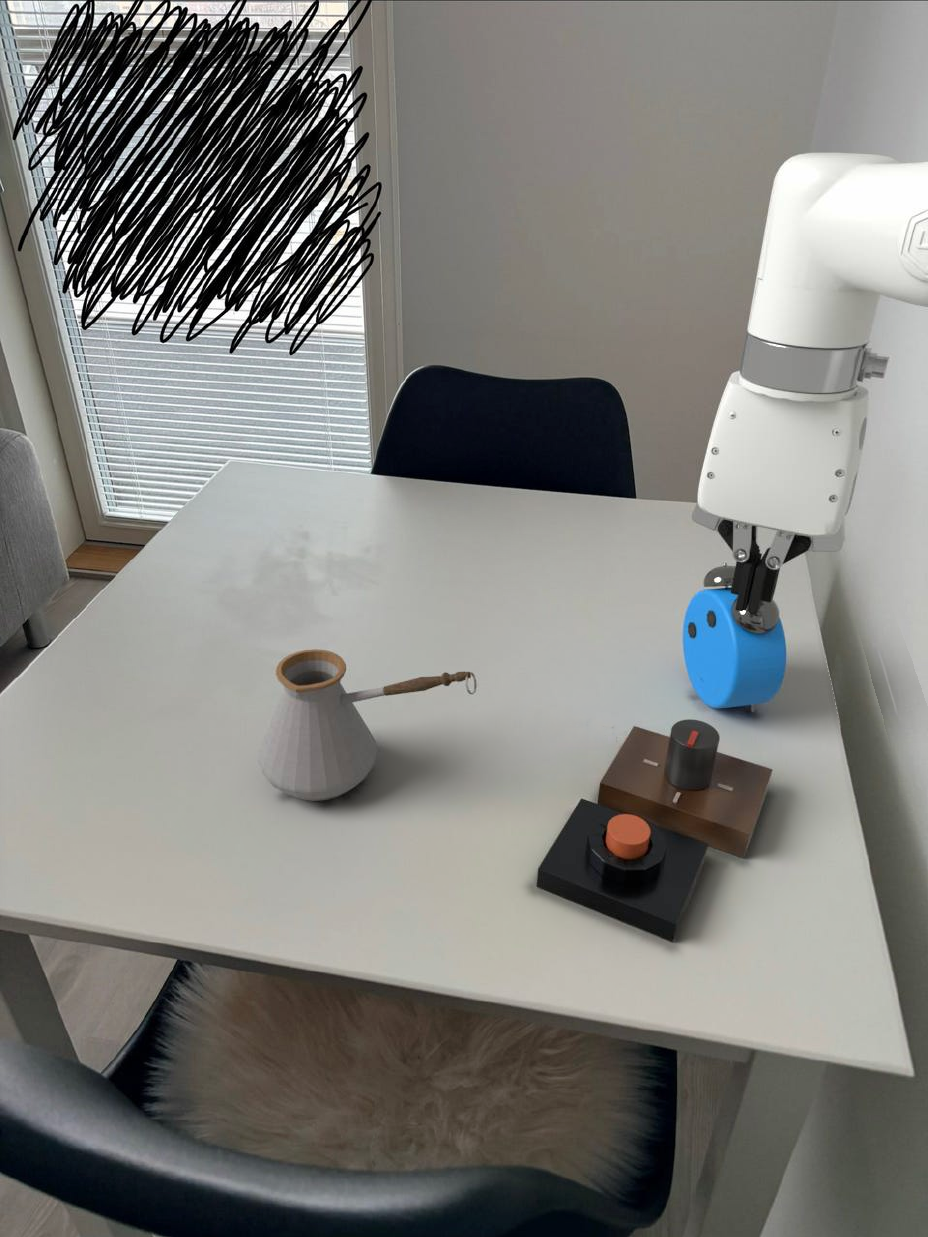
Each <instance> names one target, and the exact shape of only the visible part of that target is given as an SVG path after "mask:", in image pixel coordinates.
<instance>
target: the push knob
mask: <svg viewBox="0 0 928 1237" xmlns="http://www.w3.org/2000/svg"><path fill="white" fill-rule="evenodd" d="M650 833H651V831H650V828H649V826H648V824H647V823H646V822H645V821H644V820H643V819H641V818H639V817H637V816H634V815H630V814H621V815H617V816H615V817H613V818H612V819H611V820H610V821H609V823H608V826H607V834H606V846H607V848H608V849H609V850H610V852H612V853H613V854H614V855H616V856H619V857H622V858H624V859H637V858H640V857H642V856H643V855H645V853H646V852H647V850H648V845H649V839H650Z"/></svg>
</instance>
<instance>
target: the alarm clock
mask: <svg viewBox="0 0 928 1237" xmlns="http://www.w3.org/2000/svg"><path fill="white" fill-rule="evenodd" d="M735 567H736V565H728V563H726V562H723V565H720V566H716V567H715V568H712V569H710V570H709V571H708V572H707V573H706V574H705V576H704V578H703V581H702V582H703V583H702V584H703V585H702V586H703V588H706V589H702V590H700V591H697V593H695V594H694V596H692V597H691V599H690V601H689V603H688V605H687V608H686V611H685V615H684V620H683V624H682V625H683V626H682V650H683V658H684V664H685V668H686V672H687V675H688V678H689V680H690V681H689V682H690V684H691V685H692V687H693V689H694V691H695V693H696V695H697V696H698V698H699V699H700V700H701V701H702V702H703V703H704V704H705V705H706V706H708V707H710V708H713V709H726V708H727V709H729V708H736V707H745V706H746V707H747V706H749V711H750V712H751V713H754V711H755V705H762V704H766V703H768V702H770V701H771V700H772V699H773V698H774V697H775V696H776V695H777V694H778V692H779V691H780V689H781V686H782V683H783V681H784V677H785V673H786V666H787V642H786V635H785V630H784V626H783V623H782V620H781V617H780V610H779V606H778V605H777V603H776V601H775V600H774V598H773V599H772V601H771V603H769V602H765V601H763V603H762V605H761V607H760V609H759V611H758V613H757V615H753V614H750V612H749V611H747V610H748V607H747V609H746V610H743V611H742V612H741V611H737V610H735V608H736V603H737V598H738V595H736V594H732V593H731V587H732V582H733V577H734V572H735ZM716 587H719V588H716ZM720 587H721V588H720ZM707 588H708V589H707Z"/></svg>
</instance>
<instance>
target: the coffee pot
mask: <svg viewBox="0 0 928 1237" xmlns="http://www.w3.org/2000/svg"><path fill="white" fill-rule="evenodd" d="M346 672H347V664H346V662H345V660H344V658H343V657H341V656H340V655H339V654H337V653H335V652H333V651H330V650H326V649H318V648H317V649H316V648H315V649H305V650H300V651H296V652H294V653H291V654H289V655H287V656H285V657H284V658H283V659H282V660H280V661H279V662H278V664H277V666H276V667H275V675H276V678H277V680H278V682H279V683H280V684H282V686H283V687H284V689H283V691H282V693H281V696H280V698H279V701H278V702H277V706H276V708H275V710H274V713H273V715H272V718H271V721H270V723H269V725H268V728H267V730H266V734H265V737H264V738H263V741H262V743H261V745H260V748H259V752H258V753H259V754H258V764H259V768H260V770H261V773H262V775H263V776H264V777H265V779H266V780H267V781H268V782H269V783H270V784H271V786H273V787H274V788H275V789H277V790H279V791H280V792H282V793H284V794H286V795H287V796H290V797H294V798H297V799H300V800H303V801H312V802H320V801H327V800H328V801H329V800H332V799H336V798H337V797H338V798H339V797H340V796H342V795H344V794H346V793H347V792H349V791H351V790H352V789H353V788H355V787H356V786H358V785H359V784H360V783H361V782H363V781H364V780H365V779H366V777H367V776H368V775H369V773H371V771H372V768H373V767H374V765H375V761H376V758H377V756H378V747H377V742H376V739H375V737H374V735H373V733H372V732H371V730H370V728H369V727H368V725H367V723H366V722H365V720H364V718H363V717H362V715H361V714H360V712H359V711H358V709H357V707H356V706H355V705H354V703H356V702H362V701H365V700H371V699H375V698H379V697H383V696H386V697H387V696H395V695H402V694H411V693H418V692H426V691H427V690H430V689H433V688H436V687H439V686H442V685H443V686H444V687H450V685H451V684H452V683H454V682H458V683H461V682H464V681H465V689H466V691H467V693H468V695H474V694H475V693H476V692H477V688H478V686H477V679H476V676H475V674H474V672H470V671H457V672H455V673H451V674H450V673H449V672H443V673H442V674H441V676H440V675H438V676H437V675H436V676H419V677H416V678H412V679H408V680H404V681H400V682H396V683H393V684H388V685H384V686H383V687H378V688H377V687H376V688H371V689H366V690H359V691H352V692H348V693H347V691H346V689H345V688H344V686H343V685H342V683H341V682H342V679H343V678H344V676H345V675H346ZM471 677H472V679H473V691H472V692H471V691H470V688H469V684H468V681H469V680H468V679H471Z"/></svg>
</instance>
